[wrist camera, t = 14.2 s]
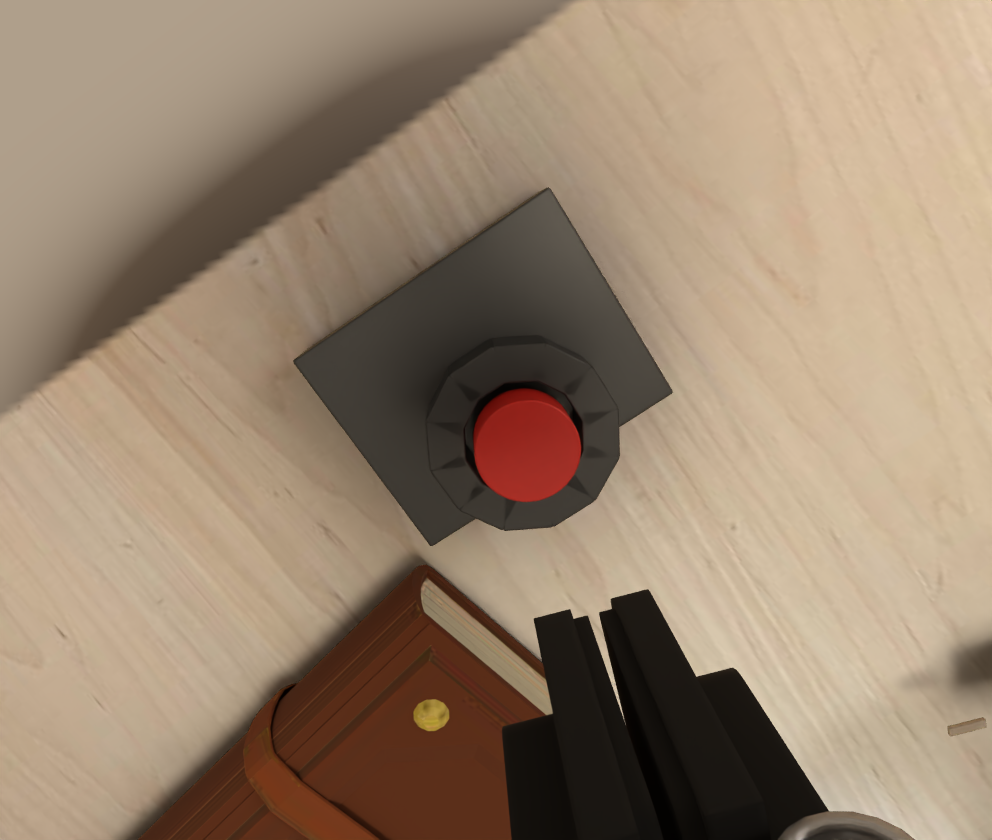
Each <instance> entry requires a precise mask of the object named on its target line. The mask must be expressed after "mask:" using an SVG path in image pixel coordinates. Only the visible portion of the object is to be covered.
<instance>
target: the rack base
mask: <svg viewBox="0 0 992 840" xmlns="http://www.w3.org/2000/svg"><path fill="white" fill-rule="evenodd" d="M982 728H986V720H985V719H984V718H983V717H982V718H978V719H974V720H970V721H967V722H963V723H959V724H955V725H951V726H948V734H949V735H950V736H955V735H959V734H963V733H967V732H971V731H975V730H978V729H982Z"/></svg>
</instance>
